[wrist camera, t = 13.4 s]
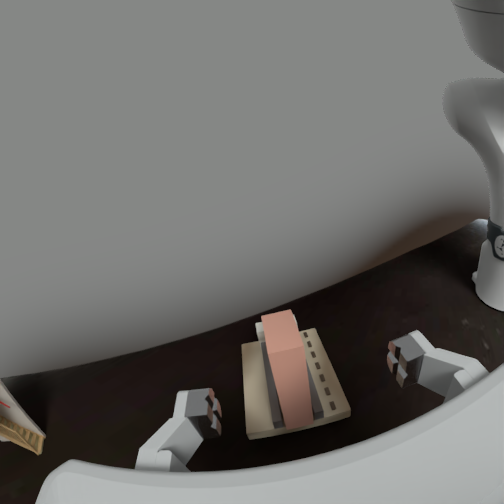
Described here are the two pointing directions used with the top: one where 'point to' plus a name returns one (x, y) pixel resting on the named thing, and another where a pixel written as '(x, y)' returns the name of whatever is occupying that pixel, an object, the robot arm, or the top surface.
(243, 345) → the slotted tan base plate
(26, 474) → the top surface
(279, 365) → the tall salmon pink pillar
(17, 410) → the staircase
